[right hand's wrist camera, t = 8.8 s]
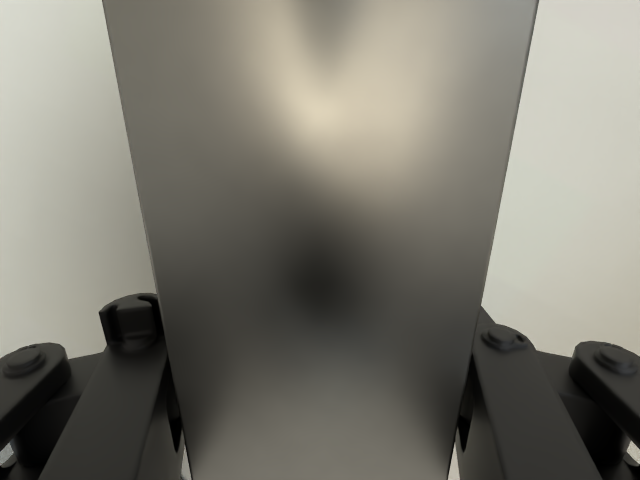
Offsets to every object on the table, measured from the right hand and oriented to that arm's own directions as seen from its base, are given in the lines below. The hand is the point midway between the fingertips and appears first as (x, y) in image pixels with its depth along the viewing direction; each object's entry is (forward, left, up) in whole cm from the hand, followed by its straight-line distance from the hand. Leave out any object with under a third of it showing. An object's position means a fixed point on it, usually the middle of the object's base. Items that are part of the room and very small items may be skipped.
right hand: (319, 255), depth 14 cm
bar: (0, +9, -1) cm, 9 cm away
